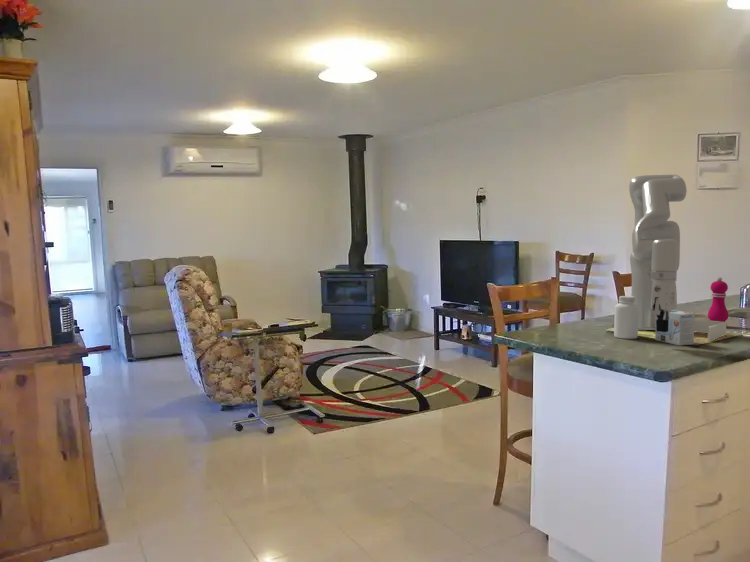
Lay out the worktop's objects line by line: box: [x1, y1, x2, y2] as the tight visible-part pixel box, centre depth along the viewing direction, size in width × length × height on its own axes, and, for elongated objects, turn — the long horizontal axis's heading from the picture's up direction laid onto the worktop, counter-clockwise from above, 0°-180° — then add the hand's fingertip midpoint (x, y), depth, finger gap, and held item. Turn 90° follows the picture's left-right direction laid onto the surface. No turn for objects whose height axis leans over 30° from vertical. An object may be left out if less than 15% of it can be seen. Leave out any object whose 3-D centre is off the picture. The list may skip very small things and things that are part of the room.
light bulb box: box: [654, 309, 696, 346], centre depth 200 cm, size 11×7×11 cm, turn 21°
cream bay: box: [694, 318, 727, 343], centre depth 213 cm, size 17×17×5 cm
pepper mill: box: [707, 276, 729, 328], centre depth 231 cm, size 7×7×20 cm
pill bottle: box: [613, 295, 639, 340], centre depth 210 cm, size 8×8×15 cm
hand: (662, 331), depth 192 cm, fingers closed
